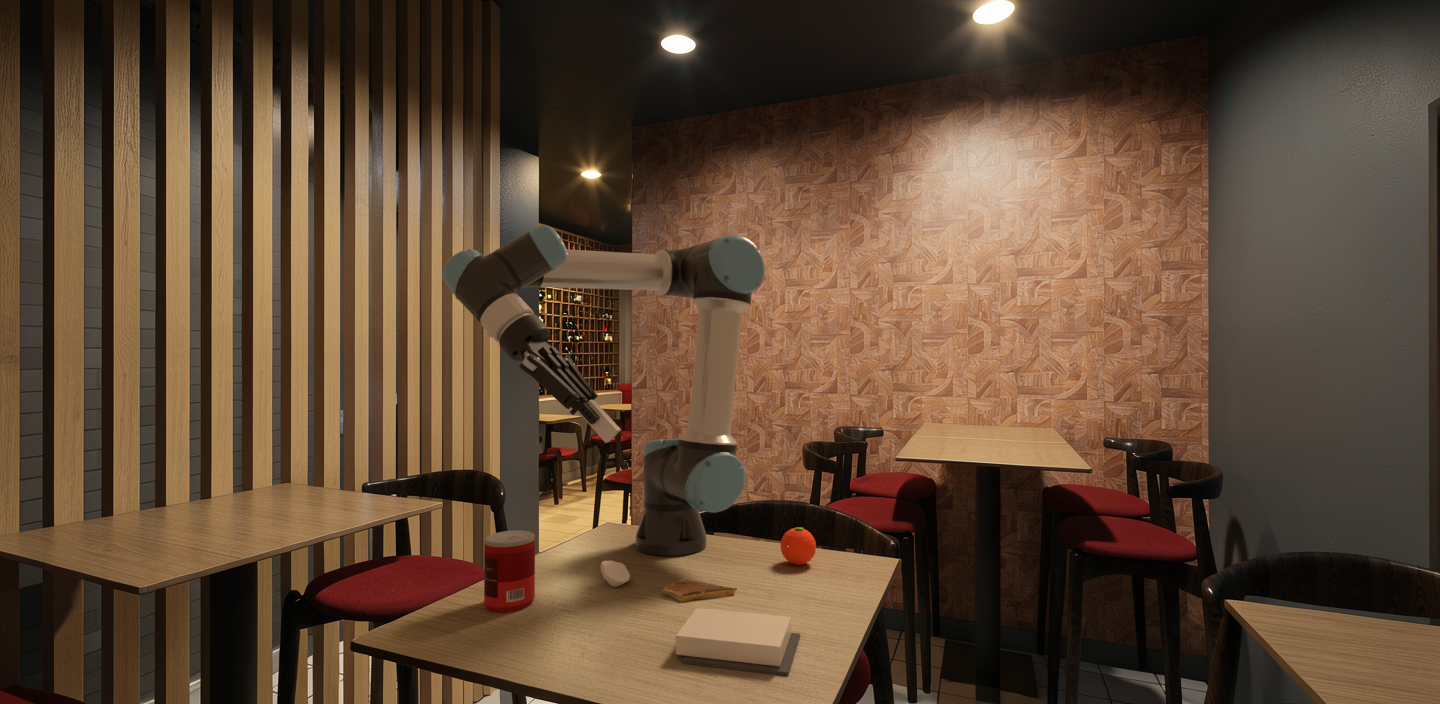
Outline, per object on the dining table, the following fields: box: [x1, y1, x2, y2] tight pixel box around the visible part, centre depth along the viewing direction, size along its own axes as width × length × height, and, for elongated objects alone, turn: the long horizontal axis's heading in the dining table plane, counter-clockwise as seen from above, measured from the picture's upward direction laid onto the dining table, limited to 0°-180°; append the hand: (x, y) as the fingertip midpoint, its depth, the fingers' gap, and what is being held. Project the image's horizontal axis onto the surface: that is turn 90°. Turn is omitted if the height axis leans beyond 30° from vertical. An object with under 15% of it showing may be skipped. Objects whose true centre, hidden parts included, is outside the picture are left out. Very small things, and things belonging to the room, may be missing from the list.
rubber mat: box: [681, 632, 801, 676], centre depth 89 cm, size 12×14×1 cm
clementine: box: [779, 526, 817, 566], centre depth 127 cm, size 8×7×7 cm
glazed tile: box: [675, 607, 792, 666], centre depth 90 cm, size 10×3×14 cm
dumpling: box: [600, 560, 631, 588], centre depth 115 cm, size 7×5×4 cm
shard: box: [662, 579, 738, 603], centre depth 110 cm, size 11×8×2 cm
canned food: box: [483, 530, 536, 613], centre depth 106 cm, size 8×8×11 cm
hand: (613, 436), depth 100 cm, fingers closed
